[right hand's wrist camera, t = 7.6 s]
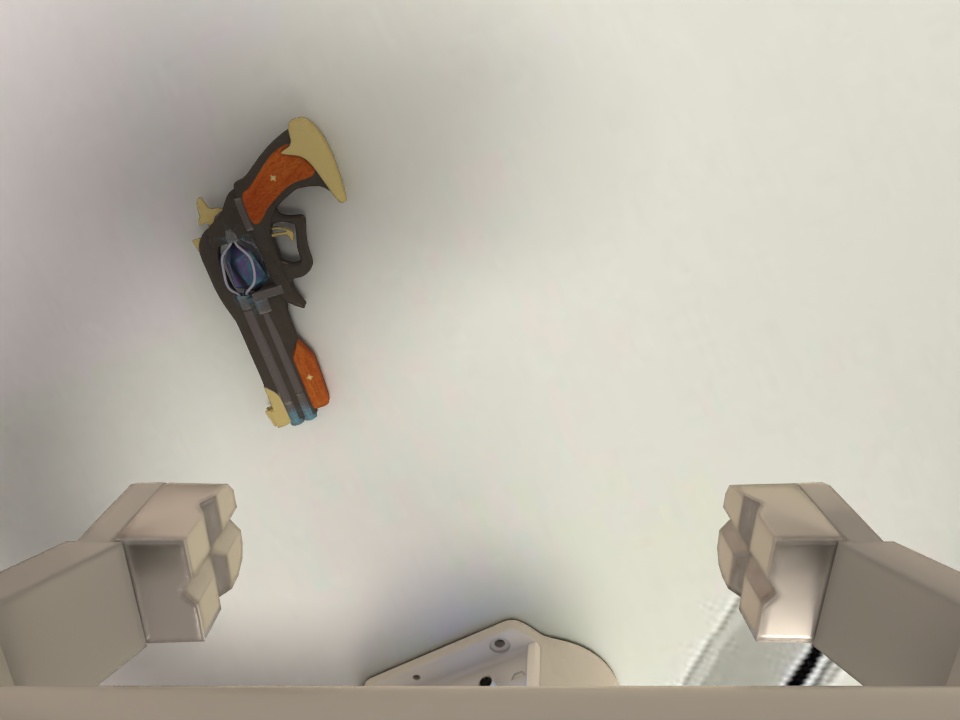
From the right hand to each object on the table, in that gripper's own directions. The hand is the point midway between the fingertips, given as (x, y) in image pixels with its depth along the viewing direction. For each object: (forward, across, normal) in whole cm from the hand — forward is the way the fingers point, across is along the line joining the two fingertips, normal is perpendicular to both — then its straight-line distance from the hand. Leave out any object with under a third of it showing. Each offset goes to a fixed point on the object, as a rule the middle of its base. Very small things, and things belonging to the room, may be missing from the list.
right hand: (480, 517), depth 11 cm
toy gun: (+32, +12, +4) cm, 35 cm away
